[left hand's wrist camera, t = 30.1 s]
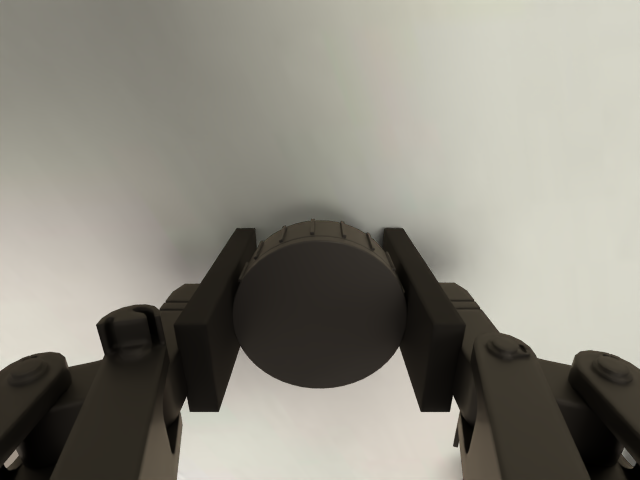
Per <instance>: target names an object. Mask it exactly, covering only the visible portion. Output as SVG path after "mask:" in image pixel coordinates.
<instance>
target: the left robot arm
mask: <svg viewBox="0 0 640 480" xmlns="http://www.w3.org/2000/svg"><path fill="white" fill-rule="evenodd" d="M256 250H257V246H256V232H255V228H237V229H236V230H235V232H234V233H233V235H232V236H231V238H230V239H229V241H228V242H227V244H226V245H225V247H224V248H223V250H222V251H221V253H220V255H219V256H218V258H217V259H216V261H215V262H214V264H213V265H212V267H211V268H210V270H209V271H208V273H207V274H206V276H205V277H204V279H203V280H202V282H201V283H200V284H184V285H183V286H181V287H180V288H178V289H176V290H175V291H173V292H172V294H171V295H170V296H169V297H168V299H167V300H166V303H164V304H163V305H162V306H161V308H160V310H159V309H157V308H156V307H155V306H151V305H146V304H144V305H132V306H127V307H123V308H120V309H118V310H115V311H113V312H111V313H109V314H108V315H106V316H105V317H103V318H102V319H101V320H100V321H99V322H98V323H97V324H96V326H97V330H98V333H99V337H100V340H101V344H102V347H103V350H104V354H105V355H104V358H103V360H99V361H95V362H91V363H86V364H81V365H76V366H71V367H68V365H67V362H66V359H65V357H64V356H63V355H61V354H60V353H55V352H45V353H38V354H34V355H31V356H27V357H24V358H22V359H20V360H18V361H16V362H14V363H12V364H10V365H8V366H7V367H5V368H4V369H3V370H1V371H0V480H177V472H178V463H179V453H180V444H181V435H182V418H181V413H180V410H181V408H182V406H183V403H184V401H185V399H186V397H187V399H188V405H189V410H190V412H219V410H220V407H221V404H222V400H223V397H224V394H225V391H226V388H227V385H228V382H229V379H230V376H231V373H232V370H233V367H234V364H235V361H236V358H237V354H238V351H239V348H240V344H239V342H238V339H237V337H236V334H235V331H234V324H233V315H232V308H233V301H234V297H235V294H236V291H237V289H238V286H239V284H240V282H238V279H239V277H240V275H241V273H242V271H243V268H244V266H245V264H246V262H248V263H249V261H250V259H251V258H252V256H253V254H254V253H255V251H256ZM383 250H384V252H388V253H389V255H390V258H391V260H392V262H393V264H394V267H395V269H396V270H395V273H396V275H398V278H399V280H400V282H401V284H402V287H403V289H404V291H405V298H406V303H407V321H406V330H405V333H404V336H403V339H402V341H401V343H400V345H399V347H400V350H401V353H402V356H403V359H404V362H405V365H406V368H407V371H408V374H409V377H410V380H411V383H412V386H413V389H414V392H415V396H416V399H417V402H418V405H419V408H420V411H421V412H450V408H451V403H452V397H453V396H454V398H455V400H456V403H457V405H458V407H459V409H460V413H459V418H458V423H457V428H456V433H455V438H454V444H453V446H454V447H458V444H459V443H460V452H461V462H462V471H463V480H640V369H639V368H637V367H636V366H634V365H633V364H631V363H630V362H627V361H625V360H623V359H621V358H620V357H618V356H615V355H612V354H609V353H605V352H599V351H592V350H588V351H581V352H579V353H578V354H576V355H575V357H574V360H573V363H572V366H571V365H566V364H561V363H556V362H552V361H547V360H542V359H539V358H537V357H536V355H535V353H534V352H533V351H532V349H531V348H530V347H529V346H528V345H526V344H525V343H524V342H522V341H521V340H519V339H517V338H515V337H512V336H510V335H506V334H502V333H499V331H498V330H497V329H496V327H495V326H494V325H493V324H492V322H491V321H490V320H489V318H488V317H487V316H486V315H485V313H484V312H483V311H482V310H480V307H479V306H478V304H477V303H476V302H474V299H473V298H472V297H471V295H470V294H469V293H468V291H467V290H465V289H464V288H462V287H460V286H459V285H457V284H456V283H438V281H437V280H436V278H435V277H434V275H433V274H432V272H431V270H430V269H429V267H428V266H427V264H426V263H425V261H424V260H423V258H422V257H421V255H420V254H419V252H418V251H417V249H416V248H415V246H414V245H413V243H412V242H411V240H410V238H409V237H408V235H407V234H406V232H405V231H404V229H403V228H384V240H383ZM624 447H625V449H626V450H627V451H628V452H629V453H630V455H631V456H632V457H633V458H634V459H635V460H636V462H637V463H636V465H635V466H634V467H633V466H631V465H630V464H629V463H628V462H627V461H626V459H625V458H624V457H623V456H622V454H621V453H622V451H623V449H624ZM15 450H17V452H18V454H19V456H18V457H17V459H16V460H15V461H14V462H13V463H12V464H11V465H10V466H9V467H8V468H6V467H5V466H4V463H5V461H6V460H7V459H8V458H9V457H10V455H11V454H12V453H13V452H14V451H15Z"/></svg>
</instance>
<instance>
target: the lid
mask: <svg viewBox="0 0 640 480" xmlns="http://www.w3.org/2000/svg"><path fill="white" fill-rule="evenodd" d="M395 270H396V269H395V267H394V264H393V262H392V260H391V258H390V255H389V253H388V252H384V250H383V249H382V248H381V247H380V246H379V245H378V243H377V242H376V241H375V240H373V239H372V238H371V236H370V234H369V233H367V234H365V233H364V232H362V231H360V230H358V229H356V228H354V227H352V226H349V225H346V224H344V222H343V221H341V222H340V223H339V222H333V221H322V220H315V219H311V221H306V222H301V223H297V224H294V225H291V226H288V227H286V226H283V228H282V230H280V231H278V232H276V233H275V234H273V235H272V236H270V237H269V238H268V239H266V240H265V241H264V242H263V241H261V242H260V244H259V246H258V248H257V250H256V251H255V253H254V254H253V256H252V258H251V259H250V261H249V263H248V262H246V264H245V266H244V268H243V271H242V273H241V275H240V277H239V279H238V282H240V284H239V286H238V289H237V291H236V294H235V297H234V301H233V308H232V315H233V324H234V331H235V334H236V337H237V339H238V342H239V344H240V346H241V347H242V349H243V351H244V352H245V353H246V355H247V356H248V357H249V359H250V360H251V361H252V362H253V363H254V364H255V365H256V366H258V367H259V368H260V369H262V370H263V371H264V372H266V373H267V374H269V375H271V376H272V377H274V378H276V379H278V380H281V381H283V382H286V383H289V384H292V385H296V386H300V387H307V388H334V387H339V386H344V385H348V384H351V383H354V382H357V381H359V380H362V379H364V378H366V377H367V376H369V375H371V374H373V373H374V372H376V371H377V370H378V369H380V368H381V367H382V366H383V365H384V364H385V363H387V362H388V360H389V359H390V358H391V357H392V356H393V355H394V353H395V352H396V350H397V349H398V347H399V345H400V343H401V341H402V339H403V336H404V333H405V330H406V321H407V303H406V298H405V291H404V289H403V287H402V284H401V282H400V280H399V278H398V275H396V273H395Z"/></svg>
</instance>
